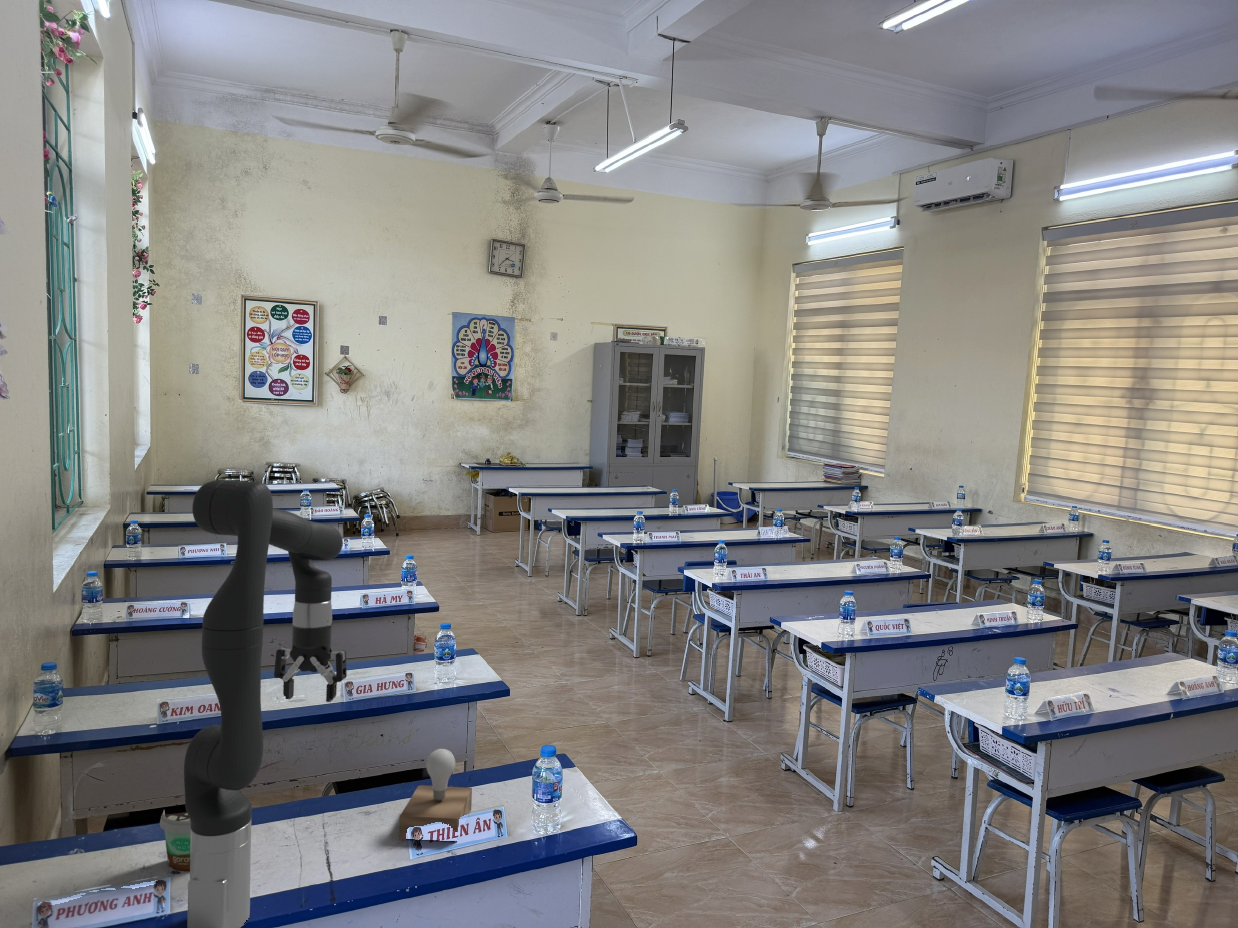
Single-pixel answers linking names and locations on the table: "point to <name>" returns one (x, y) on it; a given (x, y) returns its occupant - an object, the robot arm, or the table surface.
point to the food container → (177, 840)
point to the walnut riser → (435, 808)
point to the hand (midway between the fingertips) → (309, 699)
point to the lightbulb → (440, 771)
